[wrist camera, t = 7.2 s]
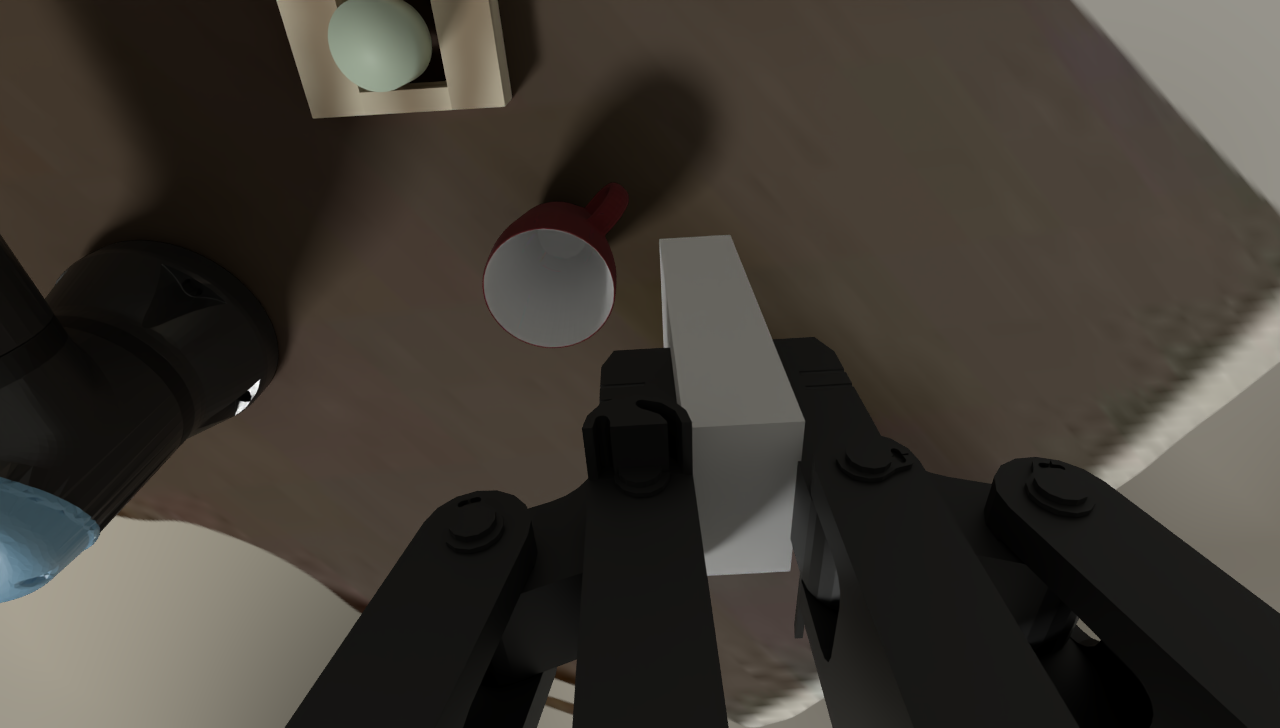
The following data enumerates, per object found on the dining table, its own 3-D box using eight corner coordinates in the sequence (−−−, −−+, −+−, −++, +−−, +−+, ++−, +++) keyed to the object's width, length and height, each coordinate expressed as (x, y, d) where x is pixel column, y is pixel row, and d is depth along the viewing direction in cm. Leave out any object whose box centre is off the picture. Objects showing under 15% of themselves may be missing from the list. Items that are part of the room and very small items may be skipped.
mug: (565, 124, 43) (550, 162, 34) (660, 195, 46) (668, 246, 37) (487, 244, 47) (457, 304, 39) (577, 302, 50) (568, 370, 41)
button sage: (364, 85, 39) (342, 94, 36) (341, -2, 36) (316, 0, 33) (439, 80, 39) (424, 89, 36) (421, -8, 36) (403, -6, 33)
